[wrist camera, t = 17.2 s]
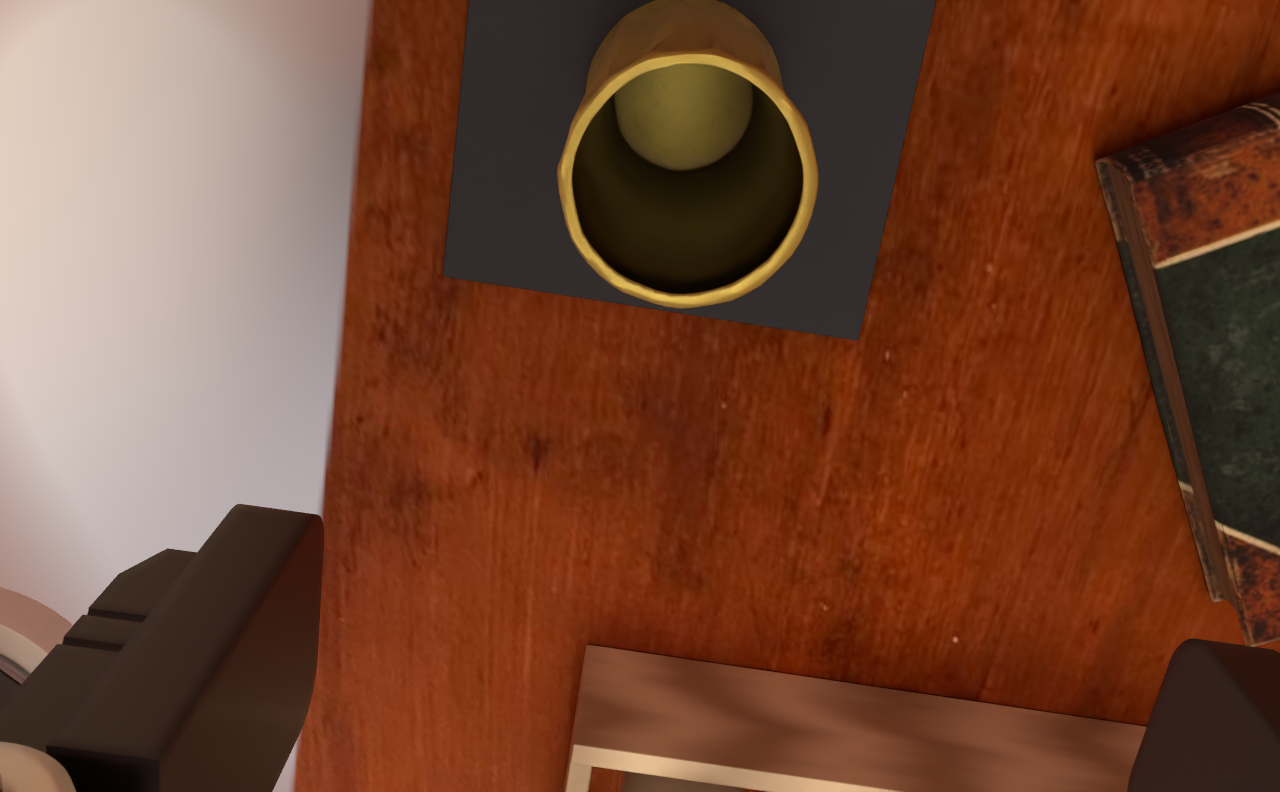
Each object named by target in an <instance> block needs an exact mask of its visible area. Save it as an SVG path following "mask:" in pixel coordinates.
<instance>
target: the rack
mask: <svg viewBox="0 0 1280 792" xmlns="http://www.w3.org/2000/svg"><path fill="white" fill-rule="evenodd" d="M1146 728H1147V727H1145V726H1139V725H1132V724H1125V723H1118V722H1111V721H1105V720H1098V719H1091V718H1084V717H1077V716H1071V715H1064V714H1057V713H1050V712H1043V711H1037V710H1030V709H1023V708H1016V707H1009V706H1002V705H996V704H989V703H982V702H975V701H968V700H962V699H955V698H948V697H941V696H934V695H928V694H921V693H914V692H907V691H900V690H894V689H887V688H880V687H873V686H866V685H860V684H853V683H846V682H839V681H832V680H825V679H819V678H812V677H805V676H798V675H791V674H785V673H778V672H771V671H764V670H757V669H751V668H744V667H737V666H730V665H723V664H717V663H710V662H703V661H696V660H689V659H683V658H676V657H669V656H662V655H655V654H648V653H642V652H635V651H628V650H621V649H614V648H608V647H601V646H594V645H586V649H585V655H584V662H583V668H582V674H581V680H580V687H579V693H578V700H577V706H576V712H575V719H574V725H573V731H572V738H571V744H570V750H569V757H568V763H567V769H566V776H565V782H564V788H563V792H588V791H589V785H590V779H591V774H592V768H593V767H600V768H607V769H614V770H621V771H628V772H635V773H642V774H649V775H655V776H662V777H669V778H676V779H683V780H690V781H697V782H704V783H711V784H718V785H725V786H732V787H739V788H746V789H753V790H759V791H766V792H1127V788H1128V782H1129V777H1130V774H1131V770H1132V767H1133V764H1134V762H1135V759H1136V756H1137V753H1138V750H1139V747H1140V745H1141V742H1142V739H1143V736H1144V733H1145V730H1146Z"/></svg>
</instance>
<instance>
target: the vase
mask: <svg viewBox="0 0 1280 792" xmlns="http://www.w3.org/2000/svg"><path fill="white" fill-rule="evenodd" d="M557 177H558V187H559V194H560V199H561V203H562V208H563V212H564V217H565V221H566V225H567V228H568V231H569V233H570V236H571V239H572V241H573V243H574V244H575V246H576V248H577V249H578V251H579V253H580V254H581V255H582V256H583V258H584V259H585V260H586V262H587V263H588V264H589V265H590V266H591V267H592V268H593V269H594V270H595V271H596V272H597V273H598V274H599V275H600V276H601V277H602V278H603V279H605V280H606V281H607V282H608V283H609V284H611V285H612V286H614V287H615V288H617V289H619V290H620V291H622V292H624V293H626V294H629V295H632V296H634V297H637V298H639V299H642V300H645V301H648V302H651V303H654V304H658V305H662V306H665V307H672V308H693V307H701V306H707V305H713V304H718V303H723V302H728V301H732V300H734V299H737V298H739V297H741V296H743V295H745V294H747V293H749V292H751V291H752V290H754V289H756V288H758V287H759V286H761V285H762V284H763V283H764V282H765V281H766V280H767V279H769V278H770V277H771V276H772V275H773V274H774V273H775V272H776V271H777V270H778V269H779V268H780V267H781V266H782V265H783V264H784V263H785V262H786V261H787V260H788V259H789V258H790V257H791V256H792V254H793V253H794V251H795V250H796V248H797V247H798V245H799V243H800V242H801V240H802V238H803V236H804V234H805V232H806V230H807V227H808V224H809V221H810V219H811V216H812V213H813V209H814V205H815V202H816V197H817V192H818V182H819V174H818V166H817V160H816V155H815V151H814V147H813V142H812V138H811V135H810V132H809V128H808V125H807V123H806V121H805V119H804V118H803V116H802V114H801V113H800V111H799V110H798V109H797V108H796V106H795V105H794V104H793V102H792V101H791V100H790V99H789V97H788V96H787V95H786V94H785V91H784V89H783V83H782V78H781V73H780V69H779V65H778V62H777V59H776V56H775V54H774V52H773V49H772V47H771V46H770V44H769V43H768V41H767V39H766V38H765V37H764V35H763V34H762V33H761V31H760V30H759V29H758V28H757V27H756V25H755V24H753V23H752V22H751V21H750V20H749V19H748V18H747V17H745V16H744V15H743V14H742V13H740V12H739V11H737V10H736V9H734V8H732V7H730V6H729V5H727V4H725V3H722V2H719V1H716V0H654V1H652V2H650V3H647V4H645V5H643V6H641V7H639V8H637V9H635V10H633V11H632V12H630V13H628V14H627V15H625V16H624V17H623V18H622V19H621V20H620V21H619V22H618V23H617V24H616V25H615V26H614V27H613V29H612V30H611V31H610V32H609V34H608V35H607V36H606V38H605V39H604V40H603V42H602V43H601V45H600V47H599V48H598V50H597V51H596V53H595V56H594V58H593V60H592V62H591V66H590V69H589V73H588V78H587V84H586V94H585V95H584V97H583V99H582V101H581V103H580V106H579V108H578V110H577V112H576V114H575V116H574V118H573V120H572V123H571V126H570V130H569V133H568V137H567V141H566V144H565V147H564V150H563V153H562V157H561V159H560V162H559V164H558V169H557Z"/></svg>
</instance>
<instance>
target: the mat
mask: <svg viewBox="0 0 1280 792" xmlns="http://www.w3.org/2000/svg"><path fill="white" fill-rule="evenodd" d="M652 1H654V0H469V5H468V15H467V26H466V36H465V47H464V58H463V68H462V79H461V89H460V100H459V110H458V121H457V132H456V142H455V153H454V163H453V174H452V184H451V195H450V205H449V216H448V227H447V237H446V248H445V258H444V269H443V276H444V277H450V278H456V279H463V280H469V281H476V282H482V283H489V284H495V285H502V286H508V287H515V288H521V289H528V290H534V291H541V292H547V293H554V294H560V295H566V296H573V297H579V298H586V299H592V300H599V301H605V302H612V303H618V304H625V305H631V306H638V307H644V308H651V309H657V310H664V311H670V312H677V313H683V314H690V315H696V316H702V317H709V318H715V319H722V320H728V321H735V322H741V323H748V324H754V325H761V326H767V327H774V328H780V329H787V330H793V331H800V332H806V333H813V334H819V335H826V336H832V337H838V338H845V339H851V340H858V339H859V335H860V330H861V326H862V322H863V317H864V313H865V309H866V304H867V300H868V295H869V291H870V287H871V282H872V278H873V274H874V269H875V265H876V261H877V256H878V252H879V247H880V243H881V239H882V234H883V230H884V226H885V221H886V217H887V213H888V208H889V204H890V199H891V195H892V191H893V186H894V182H895V178H896V173H897V169H898V165H899V160H900V156H901V151H902V147H903V143H904V138H905V134H906V130H907V125H908V121H909V117H910V112H911V108H912V103H913V99H914V95H915V90H916V86H917V82H918V77H919V73H920V69H921V64H922V60H923V55H924V51H925V47H926V42H927V38H928V34H929V29H930V25H931V21H932V16H933V12H934V7H935V3H936V0H716V1H719V2H722V3H725V4H727V5H729V6H730V7H732V8H734V9H736V10H737V11H739V12H740V13H742V14H743V15H744V16H745V17H747V18H748V19H749V20H750V21H751V22H752V23H753V24H755V25H756V27H757V28H758V29H759V30H760V31H761V33H762V34H763V35H764V37H765V38H766V39H767V41H768V43H769V44H770V46H771V47H772V49H773V52H774V54H775V56H776V59H777V62H778V65H779V69H780V73H781V78H782V83H783V89H784V91H785V94H786V95H787V96H788V97H789V99H790V100H791V101H792V102H793V104H794V105H795V106H796V108H797V109H798V110H799V111H800V113H801V114H802V116H803V118H804V119H805V121H806V123H807V125H808V128H809V132H810V135H811V138H812V142H813V147H814V151H815V155H816V160H817V166H818V174H819V182H818V192H817V197H816V202H815V205H814V209H813V213H812V216H811V219H810V221H809V224H808V227H807V230H806V232H805V234H804V236H803V238H802V240H801V242H800V243H799V245H798V247H797V248H796V250H795V251H794V253H793V254H792V256H791V257H790V258H789V259H788V260H787V261H786V262H785V263H784V264H783V265H782V266H781V267H780V268H779V269H778V270H777V271H776V272H775V273H774V274H773V275H772V276H771V277H770V278H769V279H767V280H766V281H765V282H764V283H763V284H762V285H761V286H759V287H758V288H756V289H754V290H752V291H751V292H749V293H747V294H745V295H743V296H741V297H739V298H737V299H734V300H732V301H728V302H723V303H718V304H713V305H707V306H701V307H693V308H672V307H665V306H662V305H658V304H654V303H651V302H648V301H645V300H642V299H639V298H637V297H634V296H632V295H629V294H626V293H624V292H622V291H620V290H619V289H617V288H615V287H614V286H612V285H611V284H609V283H608V282H607V281H606V280H605V279H603V278H602V277H601V276H600V275H599V274H598V273H597V272H596V271H595V270H594V269H593V268H592V267H591V266H590V265H589V264H588V263H587V262H586V260H585V259H584V258H583V256H582V255H581V254H580V253H579V251H578V249H577V248H576V246H575V244H574V243H573V241H572V239H571V236H570V233H569V231H568V228H567V225H566V221H565V217H564V212H563V208H562V203H561V199H560V194H559V187H558V177H557V169H558V164H559V162H560V159H561V157H562V153H563V150H564V147H565V144H566V141H567V137H568V133H569V130H570V126H571V123H572V120H573V118H574V116H575V114H576V112H577V110H578V108H579V106H580V103H581V101H582V99H583V97H584V95H585V94H586V84H587V78H588V73H589V69H590V66H591V62H592V60H593V58H594V56H595V53H596V51H597V50H598V48H599V47H600V45H601V43H602V42H603V40H604V39H605V38H606V36H607V35H608V34H609V32H610V31H611V30H612V29H613V27H614V26H615V25H616V24H617V23H618V22H619V21H620V20H621V19H622V18H623V17H624V16H625V15H627V14H628V13H630V12H632V11H633V10H635V9H637V8H639V7H641V6H643V5H645V4H647V3H650V2H652Z"/></svg>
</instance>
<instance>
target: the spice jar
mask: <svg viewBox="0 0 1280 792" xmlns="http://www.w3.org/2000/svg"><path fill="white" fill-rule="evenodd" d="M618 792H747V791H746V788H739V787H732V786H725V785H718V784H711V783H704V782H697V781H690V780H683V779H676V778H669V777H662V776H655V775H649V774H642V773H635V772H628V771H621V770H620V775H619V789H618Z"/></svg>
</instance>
